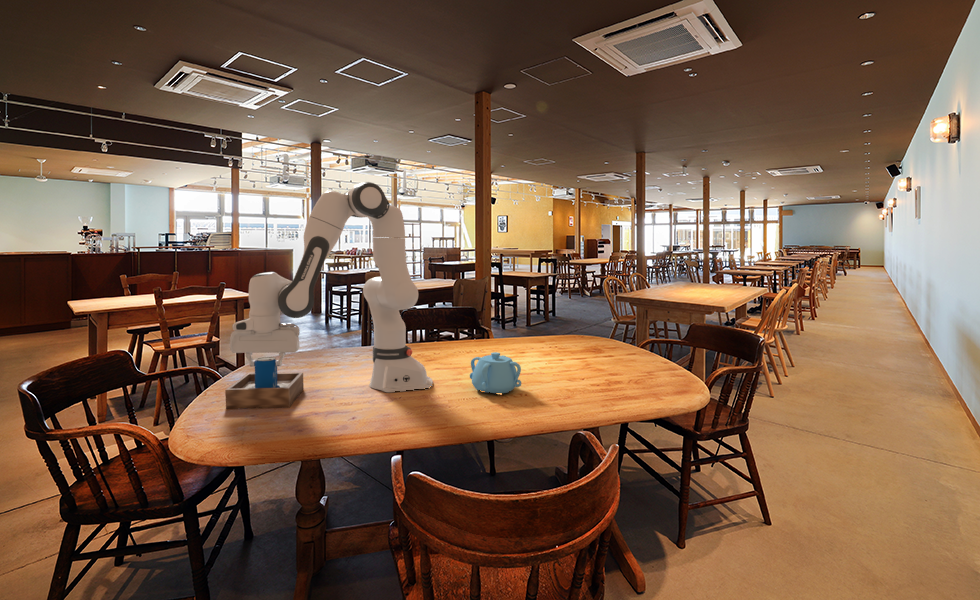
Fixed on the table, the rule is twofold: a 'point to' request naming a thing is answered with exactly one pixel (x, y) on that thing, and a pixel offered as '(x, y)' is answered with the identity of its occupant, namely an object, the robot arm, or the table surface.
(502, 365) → the decorative pot
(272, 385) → the beverage can
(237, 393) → the caddy
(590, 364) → the table surface
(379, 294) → the robot arm
